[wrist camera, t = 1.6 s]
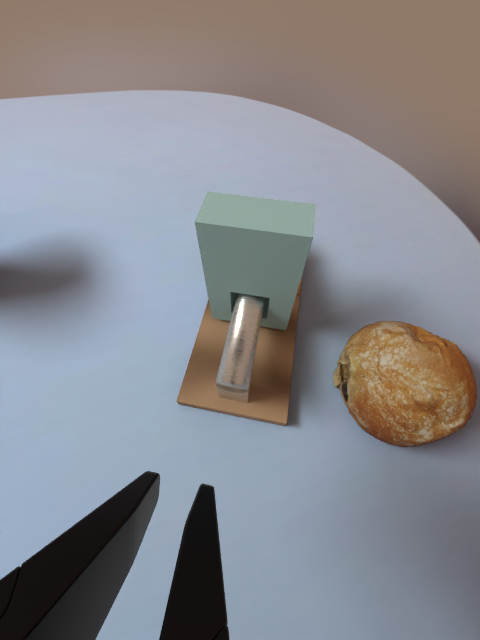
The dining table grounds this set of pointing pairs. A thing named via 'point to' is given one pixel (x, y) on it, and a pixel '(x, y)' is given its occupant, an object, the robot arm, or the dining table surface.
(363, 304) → the dining table surface
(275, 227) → the sage green slotted block
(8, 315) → the dining table surface
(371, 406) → the bread roll
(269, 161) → the dining table surface
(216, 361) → the walnut board
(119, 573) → the robot arm
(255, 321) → the grey metal pipe
